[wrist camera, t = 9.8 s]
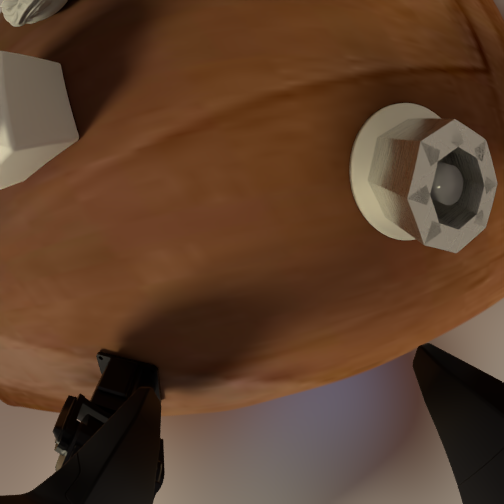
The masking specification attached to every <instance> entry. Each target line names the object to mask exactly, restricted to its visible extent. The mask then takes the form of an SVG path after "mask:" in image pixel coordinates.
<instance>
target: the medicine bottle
mask: <svg viewBox="0 0 504 504" xmlns="http://www.w3.org/2000/svg"><path fill="white" fill-rule="evenodd" d="M78 139H79V134H78V131H77V128H76V124H75V121H74V118H73V114H72V110H71V107H70V103H69V99H68V95H67V91H66V87H65V82H64V78H63V73H62V68H61V64H60V63H57V62H53V61H49V60H45V59H41V58H36V57H31V56H27V55H22V54H16V53H10V52H4V51H0V190H1V189H3V188H6V187H9V186H11V185H14V184H17V183H20V182H22V181H25V180H26V179H27V178H28V177H30V176H31V175H32V174H33V173H34V172H36V171H37V170H38V169H39V168H41V167H42V166H43V165H45V164H46V163H47V162H49V161H50V160H51V159H53V158H54V157H55V156H57V155H58V154H59V153H61V152H62V151H64V150H65V149H66V148H68V147H69V146H71V145H72V144H74V143H75V142H77V141H78Z"/></svg>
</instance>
